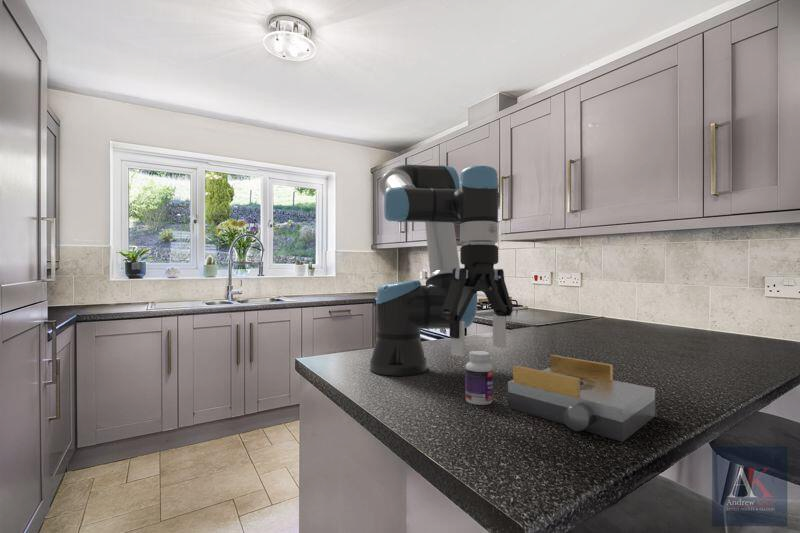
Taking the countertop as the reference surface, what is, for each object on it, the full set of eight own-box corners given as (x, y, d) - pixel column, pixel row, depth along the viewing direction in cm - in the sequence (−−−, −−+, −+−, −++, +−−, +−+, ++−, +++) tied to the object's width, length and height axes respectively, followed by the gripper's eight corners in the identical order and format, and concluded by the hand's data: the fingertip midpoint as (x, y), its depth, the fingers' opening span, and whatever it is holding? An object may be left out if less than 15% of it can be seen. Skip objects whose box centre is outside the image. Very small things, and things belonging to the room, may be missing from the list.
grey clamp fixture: (499, 411, 72) (498, 368, 72) (549, 390, 85) (549, 353, 85) (615, 447, 57) (615, 393, 58) (655, 416, 70) (654, 371, 70)
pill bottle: (493, 406, 75) (493, 355, 75) (465, 404, 76) (464, 354, 76) (492, 397, 80) (492, 350, 80) (465, 396, 81) (465, 349, 81)
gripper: (452, 239, 67) (453, 362, 67) (528, 247, 84) (529, 346, 83) (422, 242, 73) (422, 356, 72) (498, 249, 90) (499, 341, 89)
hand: (479, 351), depth 78 cm, fingers open, 13 cm apart
